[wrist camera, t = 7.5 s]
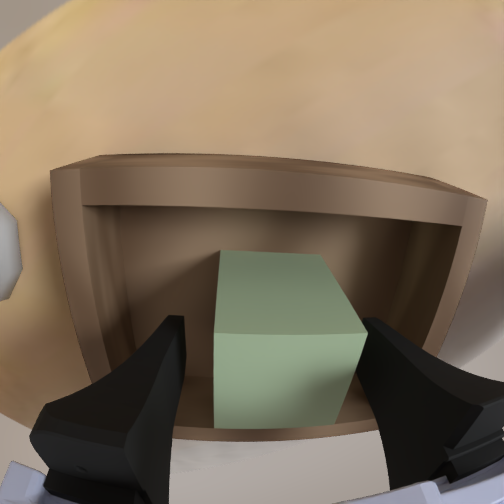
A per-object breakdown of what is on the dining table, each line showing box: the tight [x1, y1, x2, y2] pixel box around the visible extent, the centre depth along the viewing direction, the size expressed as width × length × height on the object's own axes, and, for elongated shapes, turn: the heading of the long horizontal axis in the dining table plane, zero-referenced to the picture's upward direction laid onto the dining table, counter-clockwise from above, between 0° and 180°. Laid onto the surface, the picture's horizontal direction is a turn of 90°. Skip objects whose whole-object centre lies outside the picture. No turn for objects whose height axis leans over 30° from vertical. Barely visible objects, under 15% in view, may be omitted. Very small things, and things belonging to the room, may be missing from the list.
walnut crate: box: [50, 153, 488, 442], centre depth 14 cm, size 16×13×4 cm
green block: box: [214, 250, 368, 429], centre depth 12 cm, size 4×4×6 cm
